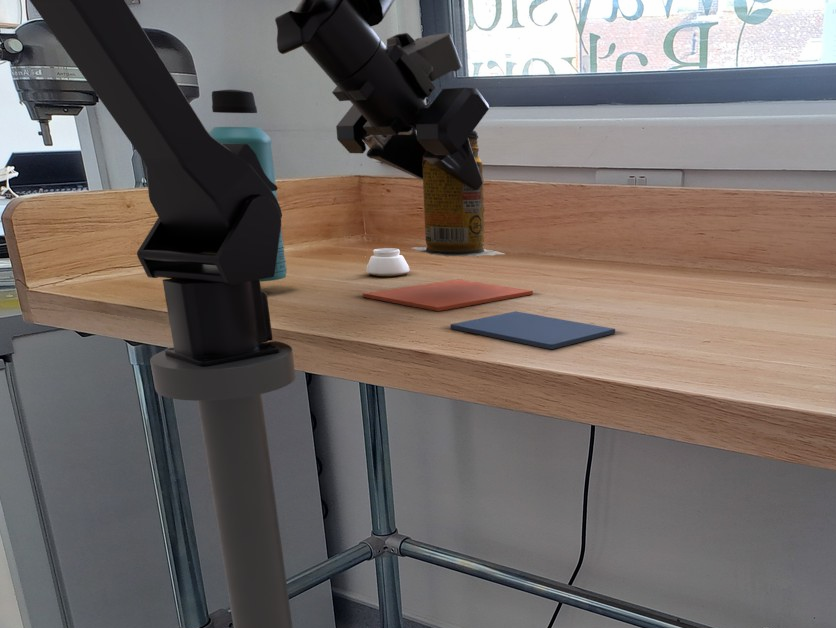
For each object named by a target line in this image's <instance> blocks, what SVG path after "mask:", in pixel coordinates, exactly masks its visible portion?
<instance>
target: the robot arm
mask: <svg viewBox="0 0 836 628" xmlns="http://www.w3.org/2000/svg"><path fill="white" fill-rule="evenodd" d="M29 2H30V3H31V5H32V6H33V7H34V9H35V10H36V12H37V13H38V14H39V16H40V17H41V18H42V20H43V22H45V24H46V25H47V27H48V28H49V30H50V32H52V34H53V36H54V37H55V38H56V40H57V41H58V43H59V44H60V45H61V47H62V48H63V50H64V51H65V52H66V54H67V55H68V56H69V58H70V59H71V61H72V62H73V64H74V65H75V66H76V68H77V69H78V71H79V72H80V73H81V75H82V76H83V78H84V79H85V81H86V82H87V83H88V85H89V86H90V87H91V89H92V90H93V92H94V93H95V95H96V96H97V97H98V99H99V100H100V102H101V103H102V104H103V106H104V107H105V108H106V110H107V111H108V112H109V114H110V115H111V117H112V118H113V120H114V121H115V122H116V124H117V125H118V127H119V128H120V130H121V131H122V132H123V134H124V135H125V137H126V138H127V140H128V141H129V143H130V144H131V145H132V146H133V148H134V150H135V151H136V152H137V153H138V155H139V156H140V158H141V160H142V161H143V163H144V165H145V171H146V172H145V173H146V182H147V192H148V199H149V202H150V204H151V206H152V208H153V210H154V211H155V213H156V215H157V216H158V217H157V219H156V220H155V222H154V224H153V226H152V227H151V228H150V230H149V232H148V234H147V235H146V236H145V238H144V239H143V242H142V243H141V245H140V246H139V248H138V250H137V252H136V256H137V258H138V260H139V263H140V264H141V266H142V268H143V271H144V272H145V275H146V276H147V278H151V279H158V278H161V279H162V285H163V292H164V297H165V304H166V309H167V316H168V320H169V327H170V333H171V339H172V344H173V345H172V347H168V348H165V349H164V350H165V354H166V355H167V356H170V357H173V358H176V359H179V360H182V361H185V362H188V363H191V364H194V365H197V366H200V367H208V366H214V365H219V364H224V363H230V362H235V361H240V360H245V359H250V358H256V357H261V356H266V355H271V354H276V353H279V347H278V346H274V345H270V344H268V343H271V342H272V341H274V340H273V332H272V323H271V314H270V308H269V300H268V294H267V293H266V292H265V291H263V290H262V286H261V282H260V279H265V278H271V277H274V275H275V268H276V261H277V253H278V246H279V238H280V231H281V232H282V226H281V225H282V217H283V213H282V208H281V205H280V204H279V201H278V198H277V199H276V197H275V195H274V194H273V192H272V191H276V192H277V191H278V186H277V185H275V184H276V183H275V184H274V183H273V182H271V181H270V180H269V178H268V177H267V176H266V174H265V173H264V171H263V169H262V167H261V165H260V162H259V160H258V158H257V155H256V154H255V152H254V151H253V150H252V149H251V148H250V146H249V145H248V144H222V143H220V142H218V141H217V140H216V139H214V138H213V137H212V136H211V135H210V134H209V132H208V130H207V129H206V127H205V125H204V124H203V123H202V121H201V119H200V117H199V116H198V115H197V113H196V111H195V109H194V108H193V107H192V105H191V103H190V101H189V100H188V99H187V97H186V95H185V94H184V92H183V91H182V89H181V87H180V86H179V84H178V83H177V81H176V79H175V78H174V76H173V75H172V73H171V71H170V70H169V68H168V66H167V65H166V64H165V61H164V60H163V59H162V57H161V56H160V53H158V51H157V49H156V48H155V46H154V44H153V42H152V41H151V39H150V38H149V36H148V34H147V33H146V31H145V30H144V28H143V27H142V25H141V23H140V22H139V21H138V19H137V17H136V15H134V13H133V11H132V9H131V7H130V6H129V5H128V3H127V1H126V0H29ZM394 2H395V0H300V2H299V3H298V5H297V6H296V8H295V9H294V10H288V11H287V12H284V13H283V14H280V15H278V16H276V17H275V18H274V21H275V25H276V30H277V35H276V45H277V46H276V48H277V51H278V53H279V54H281V55H285V54H287V53H290V52H292V51H294V50H298V49H299V48H301V47H302V48H303V49H304V50H305V51H306V52H307V53H308V55H309V57H311V58H312V59H313V61H314V62H315V63H316V64H317V65H318V67H320V69H321V70H322V71H323V72H324V73H325V74H326V76H328V77H329V79H330V80H331V81H332V83H334V84H335V86H336V87H335V88H334V89H333V90H332V92H331V93H332V95H333V96H334V97H335V99H336V100H338V101H339V102H348V101H349V102H350V103H351V105H352V106H350V108H349V109H348V110H347V111H346V113H345V114H344V115H343V117H342V118H341V119H340V121H338V123H337V124H336V126H335V128H336V139H337V141H338V142H339V144H341V146H342V147H343V148H344V149H345V150H346V151H347V152H348V153H349V154H364V153H365V152H366V150H367V147H368V148H369V149H368V150H367V152H366V153H365V154H366V156H367V158H368V159H373V160H376V161H378V162H380V163H382V164H385V165H387V166H389V167H391V168H394V169H397V170H399V171H400V172H403V173H405V174H407V175H410V176H412V177H414V178H417V179H418V180H421V181H423V167H422V161H423V159H425V160H427V161H428V162H430V163H431V164H433V165H435V166H436V167H438V168H440V169H441V170H443V171H444V172H446V173H448V174H449V175H451V176H452V177H454V178H456V179H457V180H459V181H460V182H462V183H464V184H465V185H467V186H469V187H470V188H472V189H474V190H479V188H480V187H481V186H482V184H483V185H484V181H482V178H481V175H480V172H479V169H478V166H477V164H476V161H475V158H474V155H473V152H472V149H471V146H470V142H469V138H468V137H469V136H470V134H471V133H472V131H475V129H476V127H477V126H478V125H479V124H480V122H481V121H482V119H484V116H485V115H486V114H487V113H488V112H489V110H490V105H489V103H488V102H487V101H486V99H485V97H483V95H482V93H480V91H479V89H478V88H477V87H453V88H452V87H451V88H443V89H441V91H440V92H439V94H438V95H437V96H436V97H435V99H434V100H433V101H432V103H431V104H427V103H426V102H425V100H426V99H427V98H430V97H431V95H432V94H433V93H434V91H435V90H436V89H437V86H436V85H435V84H434V81H436V80H438V79H440V78H442V77H443V76H445V75H448V73H451V72H457V71H459V70H461V69H462V68H463V64H462V62H461V59H460V56H459V54H458V51H457V48H456V45H455V43H454V41H453V38H452V35H451V33H450V32H445V33H437V34H431V35H426V36H423V37H418V38H416V39H415V38H413V36H411V34H409V33H408V32H404V33H403V32H402V33H397V34H395V35H392V36H391V37H388V38H387V39H386V45H385V42H383V40H382V39H381V38H380V37H379V35H378V34H377V32H376V31H375V30H374V29H373V28H372V27H374V26H377V25H379V24H380V23H381V22H382V21H383V20H384V18H385V16H386V15H387V13H388V12H389V11H390V9H391V7H392V5H393V4H394ZM426 150H427V151H426Z"/></svg>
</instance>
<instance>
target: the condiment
mask: <svg viewBox="0 0 836 628" xmlns="http://www.w3.org/2000/svg"><path fill="white" fill-rule="evenodd" d="M468 138H469V142H470V146H471V149H472V152H473V155H474V158H475V161H476V164H477V166H478V169H479V172H480V175H481V178H482V181H483V182H484V175H483V172H484V171H483V167H484V166H483V162H482V160H481V158H480V157H479V151H480V149H479V148H480V147H479V144H478V139H479V135H478V132H477V131H476V130H473V131H472V133H471V134H470V136H469V137H468ZM426 151H427V150H426ZM422 167H423V180H422V188H423V191H422V192H423V209H424V211H423V212H424V213H423V214H424V233H425V244H426V246H422V247H421V246H418V247H417V246H416V247H414V246H413V247H411V249H412V250H414V251H417V252H420V253H426V254H429V255H435V256H438V257H439V256H441V257H448V258H449V257H476V258H479V257H482V256H496V255H505V253H504V252H500V251H495V250H494V249H493V250H492V249H486V248H484V241H485V215H484V214H485V205H484V199H485V198H484V183H483V184H482V186H481V187H480V188H479V190H474V189H472V188H470V187H469V186H467V185H465V184H464V183H462V182H460V181H459V180H457V179H456V178H454V177H452V176H451V175H449V174H448V173H446V172H444V171H443V170H441V169H440V168H438V167H436V166H435V165H433V164H431V163H430V162H428V161H427V160H425V159H423V161H422Z"/></svg>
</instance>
